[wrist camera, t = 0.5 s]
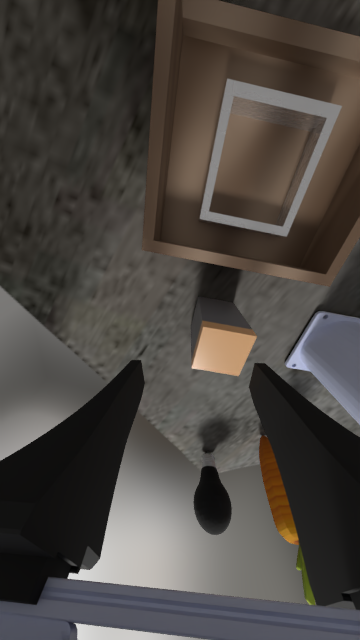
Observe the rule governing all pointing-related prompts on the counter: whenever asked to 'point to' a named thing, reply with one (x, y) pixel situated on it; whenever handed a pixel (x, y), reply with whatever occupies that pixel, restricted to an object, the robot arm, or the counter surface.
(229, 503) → the light bulb
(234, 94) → the frame
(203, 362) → the two-tone rectangular block
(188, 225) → the walnut box
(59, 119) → the counter surface
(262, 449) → the carrot
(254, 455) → the counter surface
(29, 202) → the counter surface
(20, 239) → the counter surface
